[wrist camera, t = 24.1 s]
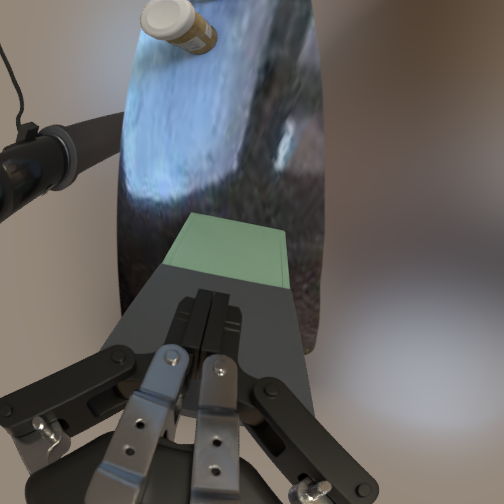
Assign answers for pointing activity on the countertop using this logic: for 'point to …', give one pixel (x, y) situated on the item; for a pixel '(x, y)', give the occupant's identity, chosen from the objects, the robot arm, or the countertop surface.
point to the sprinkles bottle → (178, 25)
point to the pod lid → (252, 329)
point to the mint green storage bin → (231, 250)
